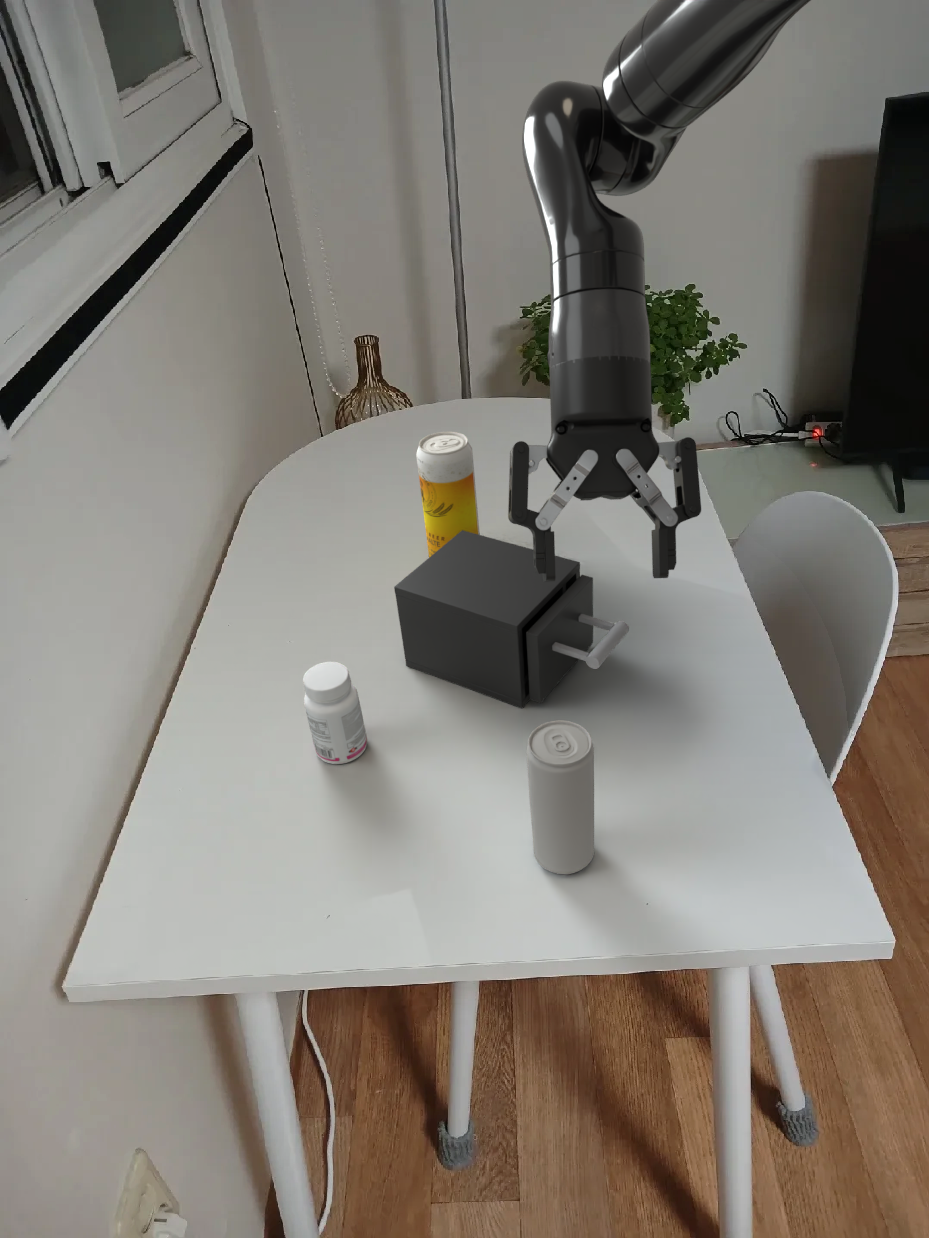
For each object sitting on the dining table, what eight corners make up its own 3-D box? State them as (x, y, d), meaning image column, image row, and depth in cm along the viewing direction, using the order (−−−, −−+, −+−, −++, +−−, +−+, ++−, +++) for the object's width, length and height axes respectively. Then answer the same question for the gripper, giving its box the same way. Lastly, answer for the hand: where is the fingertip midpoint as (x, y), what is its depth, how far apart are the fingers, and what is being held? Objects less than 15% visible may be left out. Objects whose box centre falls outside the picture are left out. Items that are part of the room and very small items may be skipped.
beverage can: (544, 885, 72) (538, 772, 65) (524, 839, 76) (517, 727, 69) (604, 868, 73) (604, 755, 66) (581, 823, 77) (579, 712, 70)
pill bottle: (363, 724, 89) (349, 653, 84) (372, 758, 85) (358, 686, 80) (312, 736, 88) (295, 665, 83) (319, 771, 84) (301, 698, 79)
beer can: (423, 553, 113) (409, 436, 104) (472, 541, 114) (462, 425, 105) (437, 579, 108) (423, 459, 99) (488, 567, 109) (478, 447, 100)
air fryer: (581, 641, 96) (580, 561, 91) (522, 708, 89) (516, 626, 83) (469, 606, 103) (462, 529, 97) (405, 665, 96) (393, 586, 90)
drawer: (638, 657, 92) (640, 590, 88) (588, 720, 85) (587, 652, 81) (487, 609, 101) (482, 546, 96) (430, 663, 94) (422, 599, 89)
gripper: (509, 354, 67) (516, 583, 68) (708, 349, 68) (713, 576, 69) (500, 376, 75) (507, 583, 75) (679, 372, 76) (684, 577, 76)
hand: (605, 579), depth 72 cm, fingers open, 8 cm apart
